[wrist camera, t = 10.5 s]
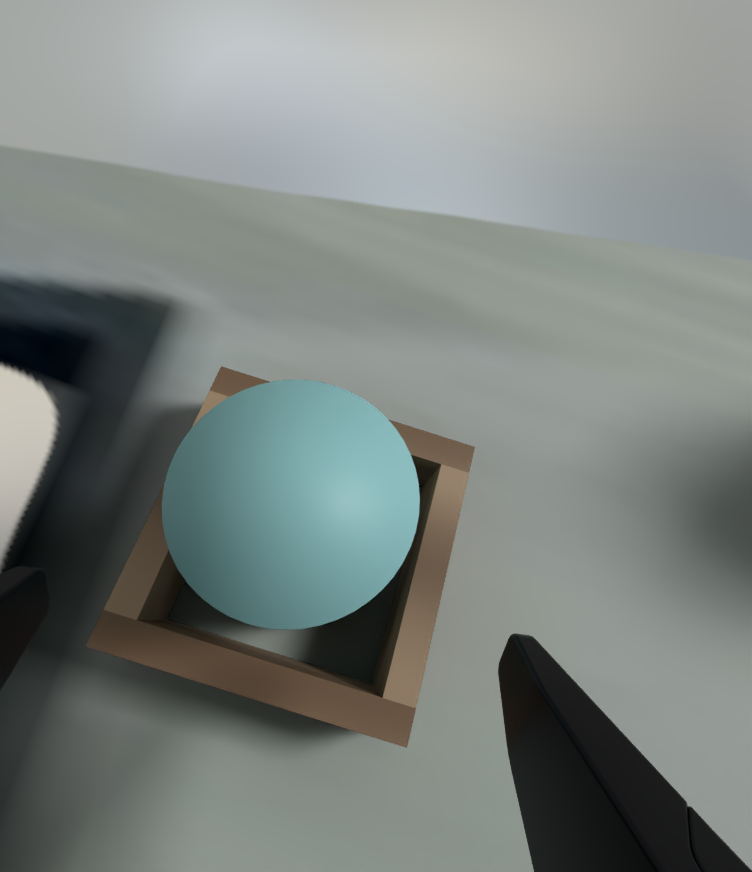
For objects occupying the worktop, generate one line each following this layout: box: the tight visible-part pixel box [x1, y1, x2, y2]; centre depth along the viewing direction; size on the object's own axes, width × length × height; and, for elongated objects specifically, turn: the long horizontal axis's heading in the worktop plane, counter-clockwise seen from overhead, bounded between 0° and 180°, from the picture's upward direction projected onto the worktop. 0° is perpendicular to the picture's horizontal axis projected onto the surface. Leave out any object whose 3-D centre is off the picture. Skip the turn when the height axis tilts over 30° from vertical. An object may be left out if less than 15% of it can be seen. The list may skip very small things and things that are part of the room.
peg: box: [162, 380, 420, 630], centre depth 13 cm, size 5×5×9 cm
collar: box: [86, 366, 475, 748], centre depth 16 cm, size 9×9×3 cm
